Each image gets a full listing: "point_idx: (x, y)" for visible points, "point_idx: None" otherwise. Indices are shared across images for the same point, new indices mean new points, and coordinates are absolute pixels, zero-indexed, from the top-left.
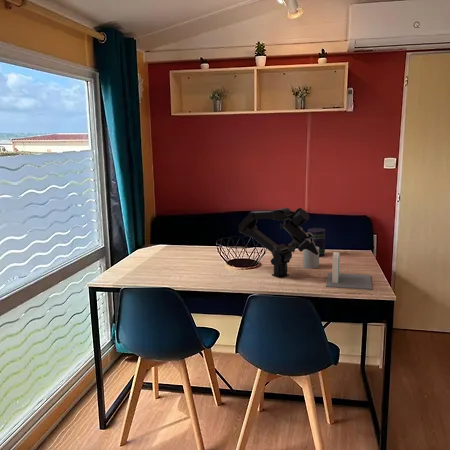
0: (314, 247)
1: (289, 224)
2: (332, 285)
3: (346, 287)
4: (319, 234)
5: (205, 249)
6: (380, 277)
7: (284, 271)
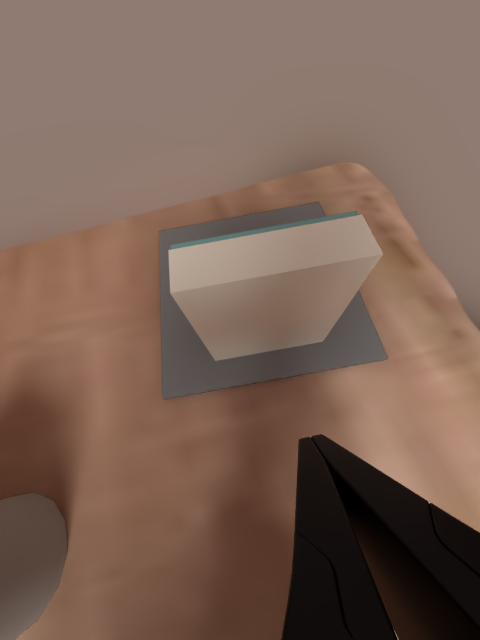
0: (458, 532)
1: None
2: (364, 330)
3: None
4: None
5: None
6: (170, 207)
7: None
